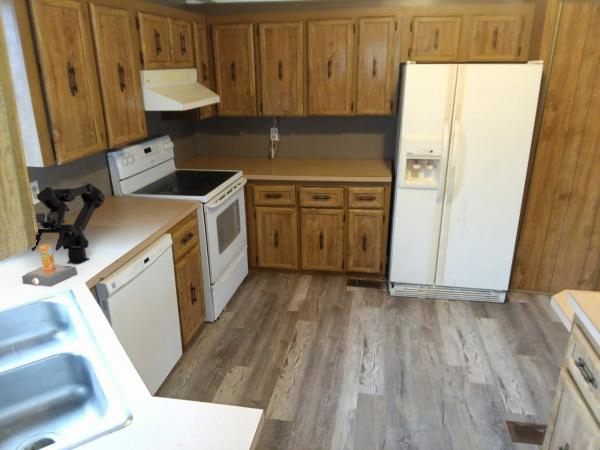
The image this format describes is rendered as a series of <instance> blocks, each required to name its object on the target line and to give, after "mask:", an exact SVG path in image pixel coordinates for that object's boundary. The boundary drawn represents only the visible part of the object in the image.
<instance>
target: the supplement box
mask: <svg viewBox="0 0 600 450" xmlns="http://www.w3.org/2000/svg"><path fill="white" fill-rule="evenodd" d="M38 247H39V252H40V257H41V262H42V263H41V264H42V267H43V270H44V271H51V270H53V269H55V268H56V266H55V264H56V263H55V256H54V251H53V246H52V243H42V244H41V245H39V246H38Z"/></svg>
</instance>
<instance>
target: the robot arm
mask: <svg viewBox="0 0 600 450" xmlns="http://www.w3.org/2000/svg"><path fill="white" fill-rule="evenodd" d="M78 196H80V198H81V199H82V202H83V206H82V208H80V211H79V213H78V215H77V217H76V218H75V221H74V222H73V223H72V224H71V223H69V224H66V223H65V222H66V220H65V216H66V213H67V212H70V211H71V210H70V208H69V206H68V204H67V203H71V202H73V201H75V200H76V197H78ZM36 198H37V200H38V201H39V202H40V203H41V204H42V205H43V206H44V208H46V209H48V213H36V215H35V220H36V219H37V222H36V223H40V226H41V228H40V227H39V226H37V227H38V233H37V235H36V240H37V242H36V246H35V247H33V248H31V247H30V248H31V251H32V252H35V250H36V249H37V247H38V245H39V243H40V241H41V240H42V238H41V237H42V235H43V234H58V238H57V242H56V245H55V251H59V250H60V249H61V248H62V247H63V250H67V252H68V253H67V255H68V261H66V263H67V264H77V265H80V264H82V263H84V262H87V261H88V260H89V261H90V258H89V257H87V254H86V253H87V252H86V249H87V248H88V247H89V240H88V239H87V238H86V235H85V233H84V231H85V229H86V228H87V226H88V224H89V222H90V220H91V218H92V216H93V214H94V212H95V211H96V210H97V209H99V208H100V207H102V205H103V204H104V202H105V200H106V198H105V195H104V193H103V192H102V190H101V189H99V188H98V187H96V186H94V184H92V183H90V182H85V183H84V182H82V183H78V184H77V185H73V186H71V187H60V188H58V187H57V188H54V189H53V188H52V187H50V186H46V187H45V188H44V189H43V190H41V191H40V192H38V193H37V196H36Z"/></svg>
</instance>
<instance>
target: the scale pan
mask: <svg viewBox="0 0 600 450" xmlns="http://www.w3.org/2000/svg"><path fill="white" fill-rule="evenodd" d="M55 266H56V268H55V269H53V270H51V271H44V270H43V266H40V267H38V268H36V269H34V270H30V271H29V272H26V273H25V275H27V276H37V277H47V278H50V277H53V276H55V275H57V274H59V273H62V272H64V271H66V270H68V269H71V268H72V267H73V266H72V265H64V264H56V263H55Z"/></svg>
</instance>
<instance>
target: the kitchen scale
mask: <svg viewBox="0 0 600 450" xmlns="http://www.w3.org/2000/svg"><path fill="white" fill-rule="evenodd" d="M77 271H78V270H77V267H76V266H72V268H71V269H68V270H66V271H64V272H62V273H59V274H57V275H55V276H53V277H50V278H47V277H37V276H27V275H26V274H24V275H22V276H21V278H22V283H23V284H24V285H31V286H32V285H33V286H42V287H43V286H44V287H51V288H52V287H54V286H56V285H57V284H60V283H63V282H65V281H66V280H68V279H70V278H72V277H75V276H77V275H78V272H77Z"/></svg>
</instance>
